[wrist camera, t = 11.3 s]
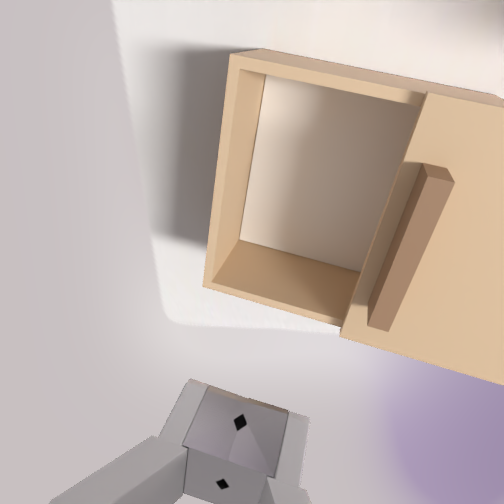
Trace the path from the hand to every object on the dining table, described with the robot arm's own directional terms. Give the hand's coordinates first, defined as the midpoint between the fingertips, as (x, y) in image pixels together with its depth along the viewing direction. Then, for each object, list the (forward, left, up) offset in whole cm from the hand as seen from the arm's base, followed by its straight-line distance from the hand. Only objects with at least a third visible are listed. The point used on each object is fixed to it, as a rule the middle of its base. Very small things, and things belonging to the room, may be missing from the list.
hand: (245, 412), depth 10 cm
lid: (+5, +15, -23) cm, 28 cm away
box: (+5, +2, -33) cm, 33 cm away
